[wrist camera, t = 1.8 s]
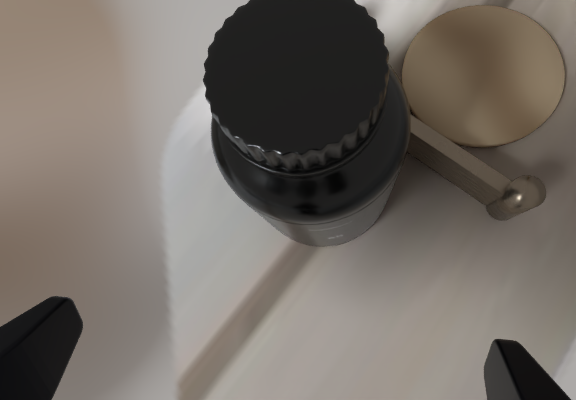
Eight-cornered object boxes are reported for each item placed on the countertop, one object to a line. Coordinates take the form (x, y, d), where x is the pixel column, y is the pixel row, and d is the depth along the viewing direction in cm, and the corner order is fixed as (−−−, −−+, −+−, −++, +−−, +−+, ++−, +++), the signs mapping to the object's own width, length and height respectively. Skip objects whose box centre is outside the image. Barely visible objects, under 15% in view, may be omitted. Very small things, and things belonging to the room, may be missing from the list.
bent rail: (493, 234, 20) (520, 224, 17) (301, 58, 24) (293, 24, 21) (522, 206, 20) (553, 191, 17) (326, 36, 24) (322, -3, 21)
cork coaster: (484, 178, 21) (486, 176, 20) (370, 79, 23) (371, 75, 22) (595, 72, 21) (600, 68, 21) (473, -16, 23) (476, -21, 23)
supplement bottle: (258, 248, 22) (153, 200, 10) (261, 126, 23) (173, -38, 12) (391, 248, 21) (444, 195, 9) (386, 121, 22) (425, -65, 11)
